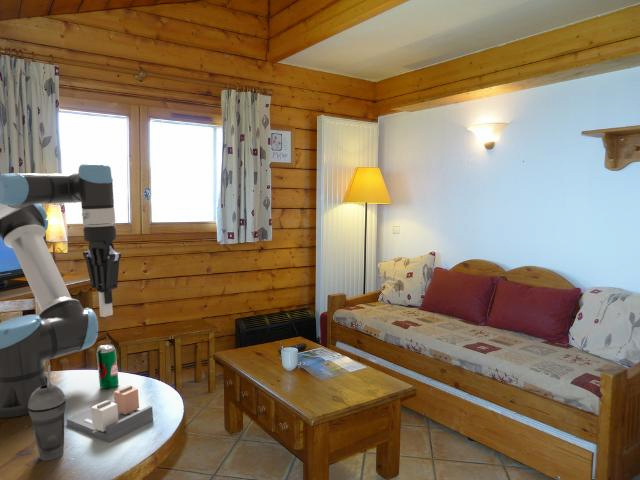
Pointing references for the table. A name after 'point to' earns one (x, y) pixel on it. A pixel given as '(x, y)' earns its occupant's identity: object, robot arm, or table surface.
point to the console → (114, 430)
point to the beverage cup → (48, 419)
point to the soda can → (107, 367)
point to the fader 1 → (104, 415)
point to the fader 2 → (126, 399)
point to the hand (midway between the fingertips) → (106, 315)
